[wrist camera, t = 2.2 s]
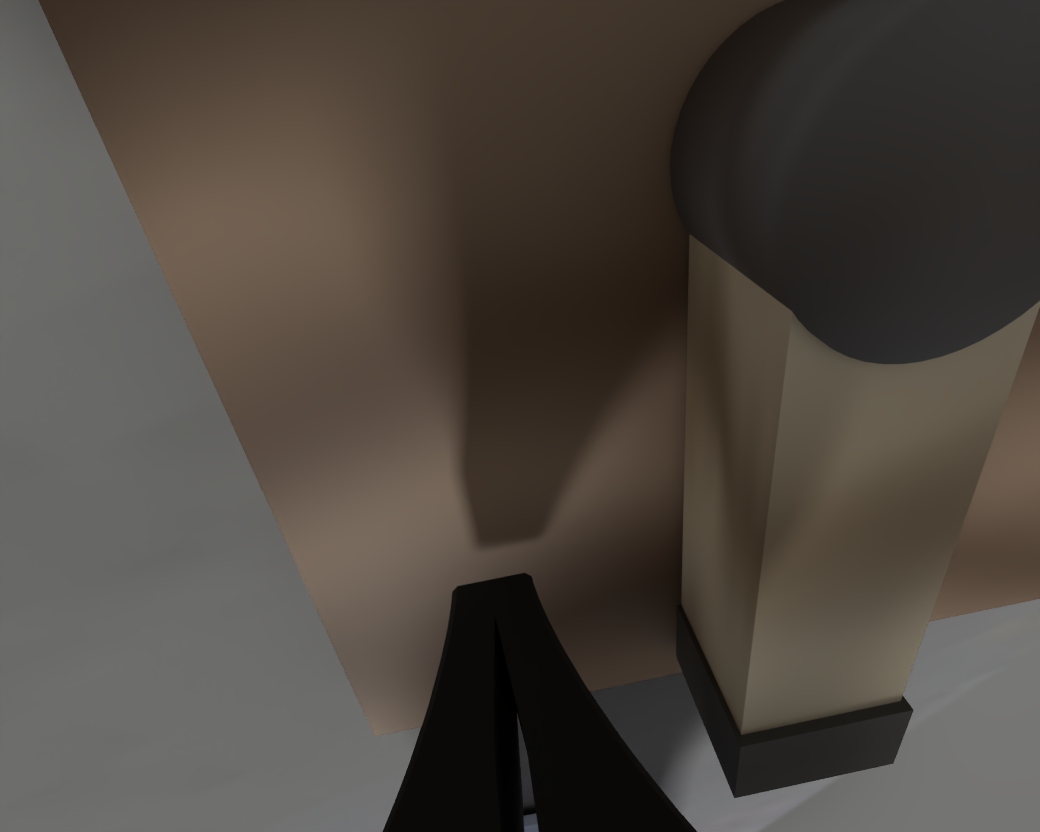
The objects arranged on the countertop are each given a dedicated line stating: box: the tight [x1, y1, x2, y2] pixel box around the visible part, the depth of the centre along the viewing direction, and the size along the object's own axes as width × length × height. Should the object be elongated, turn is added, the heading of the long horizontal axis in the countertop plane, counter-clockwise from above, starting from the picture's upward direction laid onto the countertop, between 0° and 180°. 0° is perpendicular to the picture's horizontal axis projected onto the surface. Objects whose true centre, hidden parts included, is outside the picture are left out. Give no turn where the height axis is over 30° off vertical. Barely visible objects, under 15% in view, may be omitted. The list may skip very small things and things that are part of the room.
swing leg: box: [670, 0, 1040, 798], centre depth 10 cm, size 13×4×3 cm, turn 7°
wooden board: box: [39, 0, 1040, 736], centre depth 11 cm, size 18×18×2 cm
